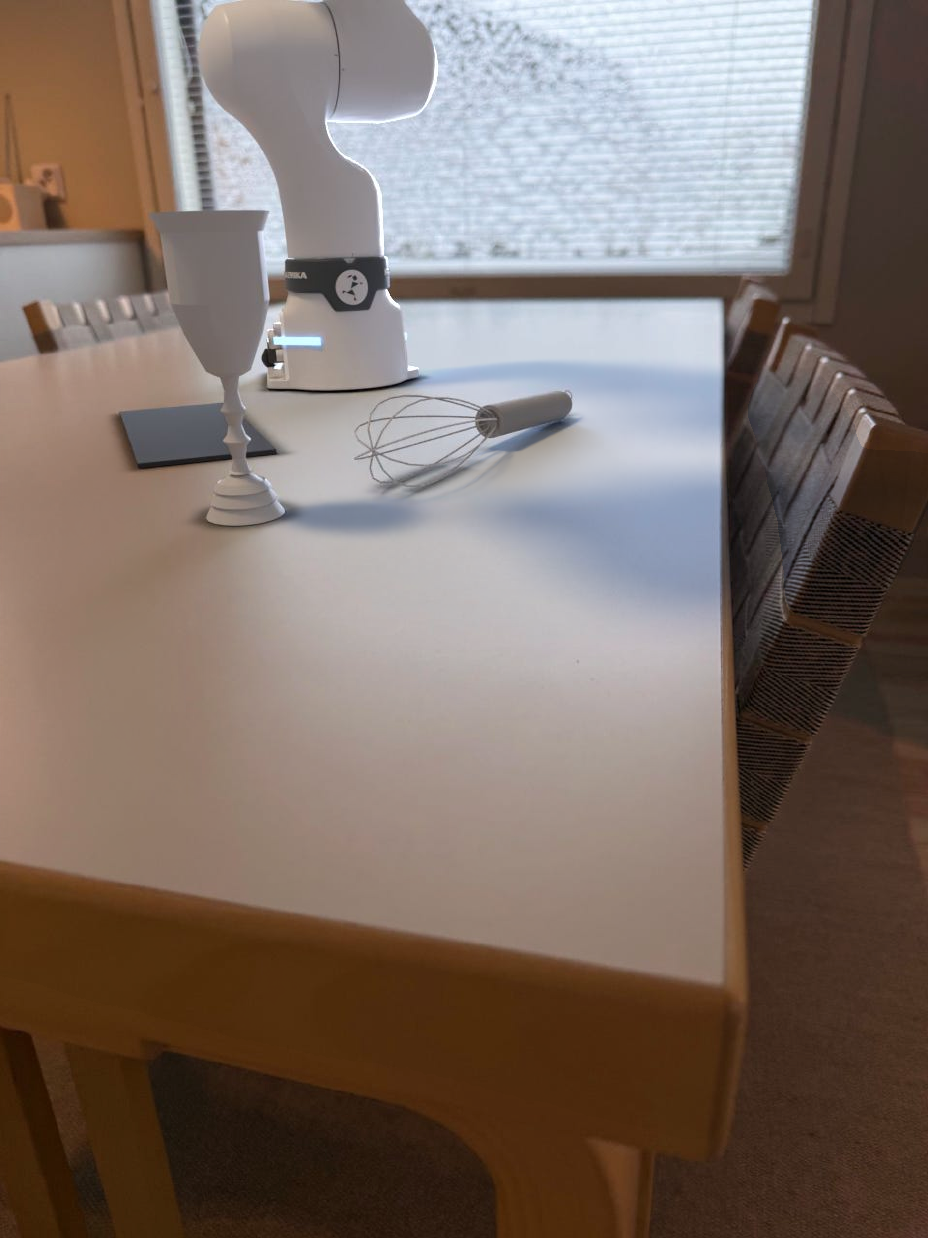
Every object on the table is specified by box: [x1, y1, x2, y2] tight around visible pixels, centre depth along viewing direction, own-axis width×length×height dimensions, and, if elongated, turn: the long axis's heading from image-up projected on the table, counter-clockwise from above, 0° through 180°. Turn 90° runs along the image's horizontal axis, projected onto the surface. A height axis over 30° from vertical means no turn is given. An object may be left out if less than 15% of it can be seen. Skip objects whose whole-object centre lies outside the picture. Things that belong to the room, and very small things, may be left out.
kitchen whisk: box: [353, 389, 573, 488], centre depth 75 cm, size 6×34×6 cm, turn 151°
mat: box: [118, 402, 278, 469], centre depth 86 cm, size 26×11×1 cm, turn 22°
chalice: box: [147, 209, 286, 527], centre depth 57 cm, size 7×7×18 cm
